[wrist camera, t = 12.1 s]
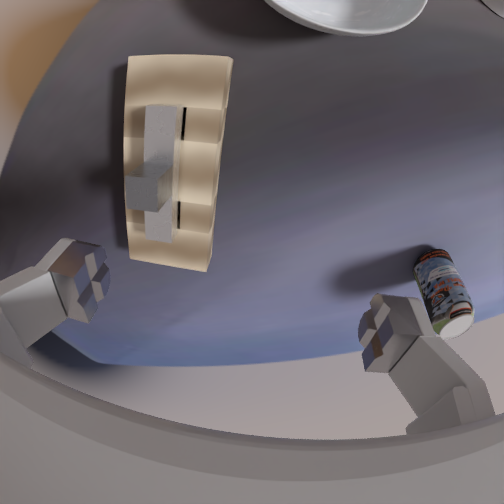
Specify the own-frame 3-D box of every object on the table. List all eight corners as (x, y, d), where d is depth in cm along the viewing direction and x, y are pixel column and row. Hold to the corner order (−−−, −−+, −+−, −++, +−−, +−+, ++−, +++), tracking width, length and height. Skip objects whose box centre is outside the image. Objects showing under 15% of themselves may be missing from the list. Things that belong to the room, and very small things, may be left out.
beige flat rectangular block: (143, 57, 24) (128, 56, 21) (233, 59, 24) (228, 56, 21) (140, 244, 37) (130, 258, 34) (211, 255, 37) (206, 272, 35)
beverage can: (450, 242, 34) (492, 297, 23) (437, 283, 37) (469, 341, 27) (413, 243, 34) (452, 304, 24) (403, 286, 38) (431, 349, 28)
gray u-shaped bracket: (168, 100, 27) (125, 110, 19) (194, 102, 27) (160, 111, 19) (163, 214, 35) (131, 260, 26) (186, 217, 35) (159, 265, 26)
